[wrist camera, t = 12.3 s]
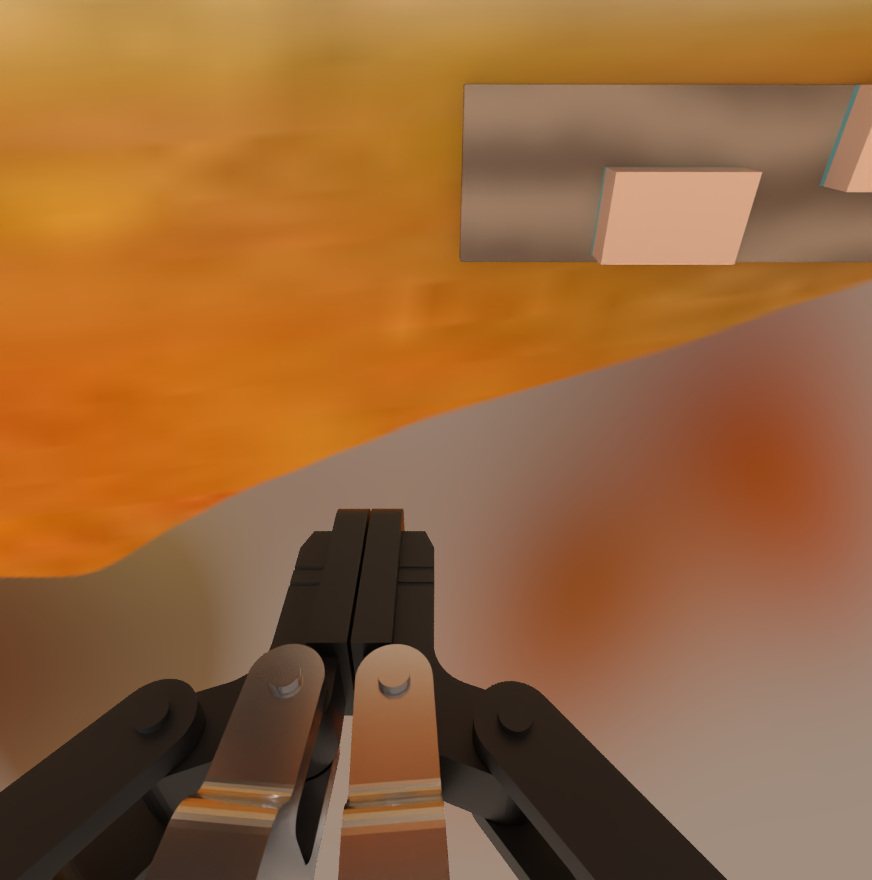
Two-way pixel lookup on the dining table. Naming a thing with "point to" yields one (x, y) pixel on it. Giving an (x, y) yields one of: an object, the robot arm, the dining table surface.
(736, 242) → the tile
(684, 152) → the board
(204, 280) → the dining table surface
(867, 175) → the tile
